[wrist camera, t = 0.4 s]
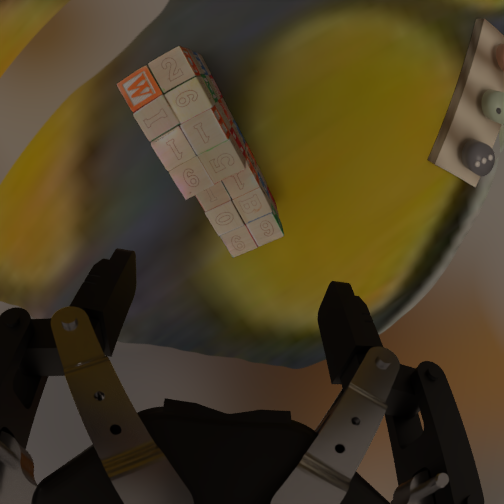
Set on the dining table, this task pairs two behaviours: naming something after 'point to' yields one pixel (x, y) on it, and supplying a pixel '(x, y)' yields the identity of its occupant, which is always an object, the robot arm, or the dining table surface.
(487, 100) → the button
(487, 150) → the button
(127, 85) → the stack of blocks
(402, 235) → the dining table surface
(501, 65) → the button
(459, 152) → the button board
